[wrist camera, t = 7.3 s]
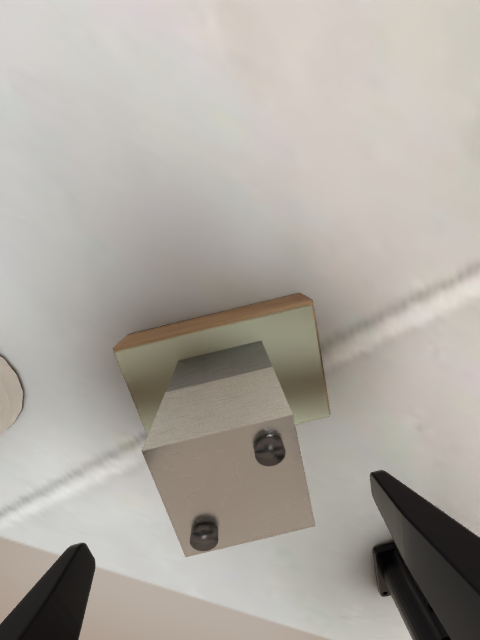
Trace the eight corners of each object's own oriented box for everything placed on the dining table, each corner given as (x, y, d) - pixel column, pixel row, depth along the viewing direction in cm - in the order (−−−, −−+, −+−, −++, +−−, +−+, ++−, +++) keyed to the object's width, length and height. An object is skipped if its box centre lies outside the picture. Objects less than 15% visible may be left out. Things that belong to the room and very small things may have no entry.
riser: (316, 393, 20) (333, 418, 17) (164, 430, 20) (154, 461, 17) (299, 292, 17) (314, 301, 15) (128, 334, 17) (109, 351, 15)
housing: (261, 340, 15) (295, 420, 8) (277, 412, 16) (318, 534, 9) (178, 360, 15) (138, 458, 8) (201, 430, 16) (184, 566, 9)
